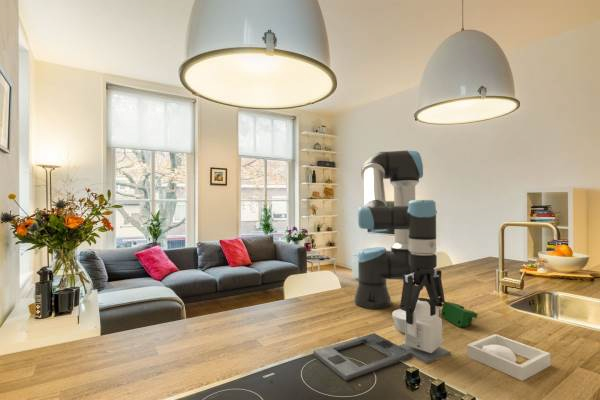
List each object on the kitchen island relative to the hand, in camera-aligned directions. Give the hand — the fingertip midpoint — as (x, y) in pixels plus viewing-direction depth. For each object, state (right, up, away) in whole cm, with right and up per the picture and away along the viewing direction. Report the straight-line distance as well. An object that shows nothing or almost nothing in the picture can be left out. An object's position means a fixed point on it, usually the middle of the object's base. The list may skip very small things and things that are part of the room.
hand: (423, 331), depth 91 cm
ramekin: (+2, -6, +16) cm, 17 cm away
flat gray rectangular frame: (-18, -6, -2) cm, 19 cm away
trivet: (0, -6, 0) cm, 6 cm away
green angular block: (+21, -6, +22) cm, 31 cm away
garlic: (+18, -6, -5) cm, 20 cm away
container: (0, -4, 0) cm, 4 cm away
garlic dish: (+20, -6, -6) cm, 22 cm away
